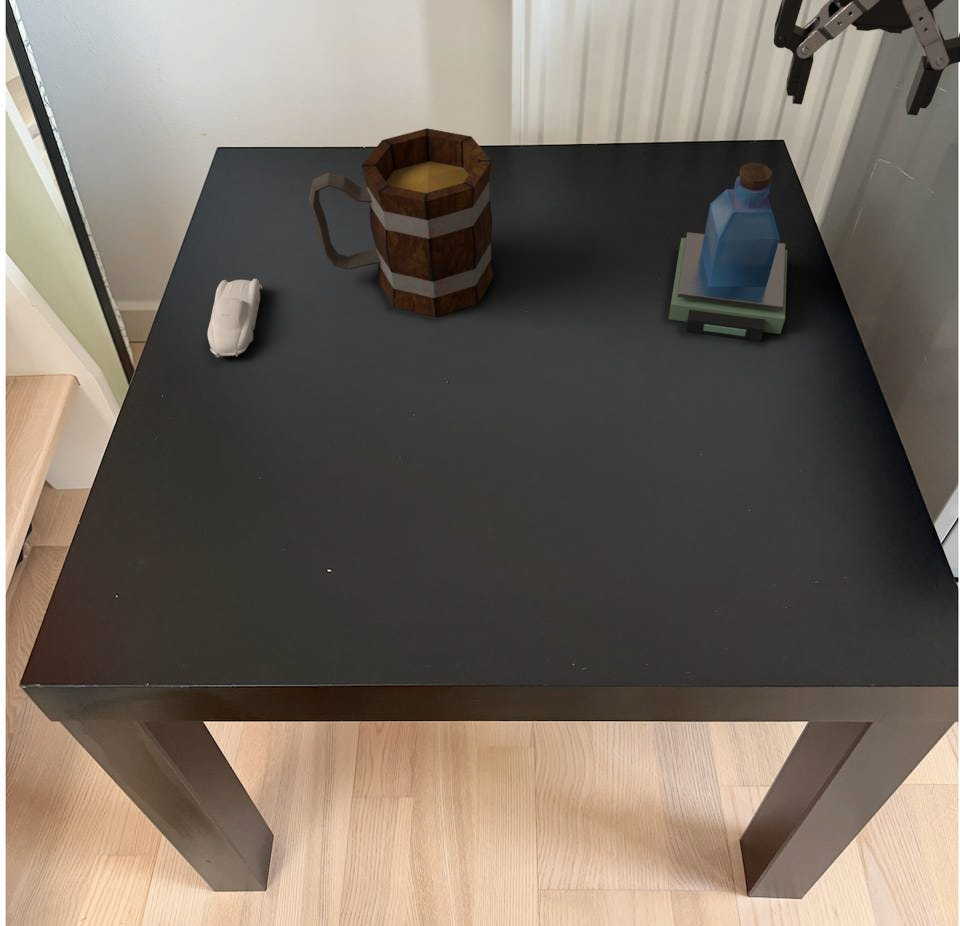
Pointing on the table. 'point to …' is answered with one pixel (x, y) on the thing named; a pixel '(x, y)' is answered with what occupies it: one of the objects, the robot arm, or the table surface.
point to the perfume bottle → (741, 232)
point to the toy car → (233, 317)
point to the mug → (422, 220)
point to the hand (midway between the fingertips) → (853, 104)
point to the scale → (725, 313)
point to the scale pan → (752, 296)
